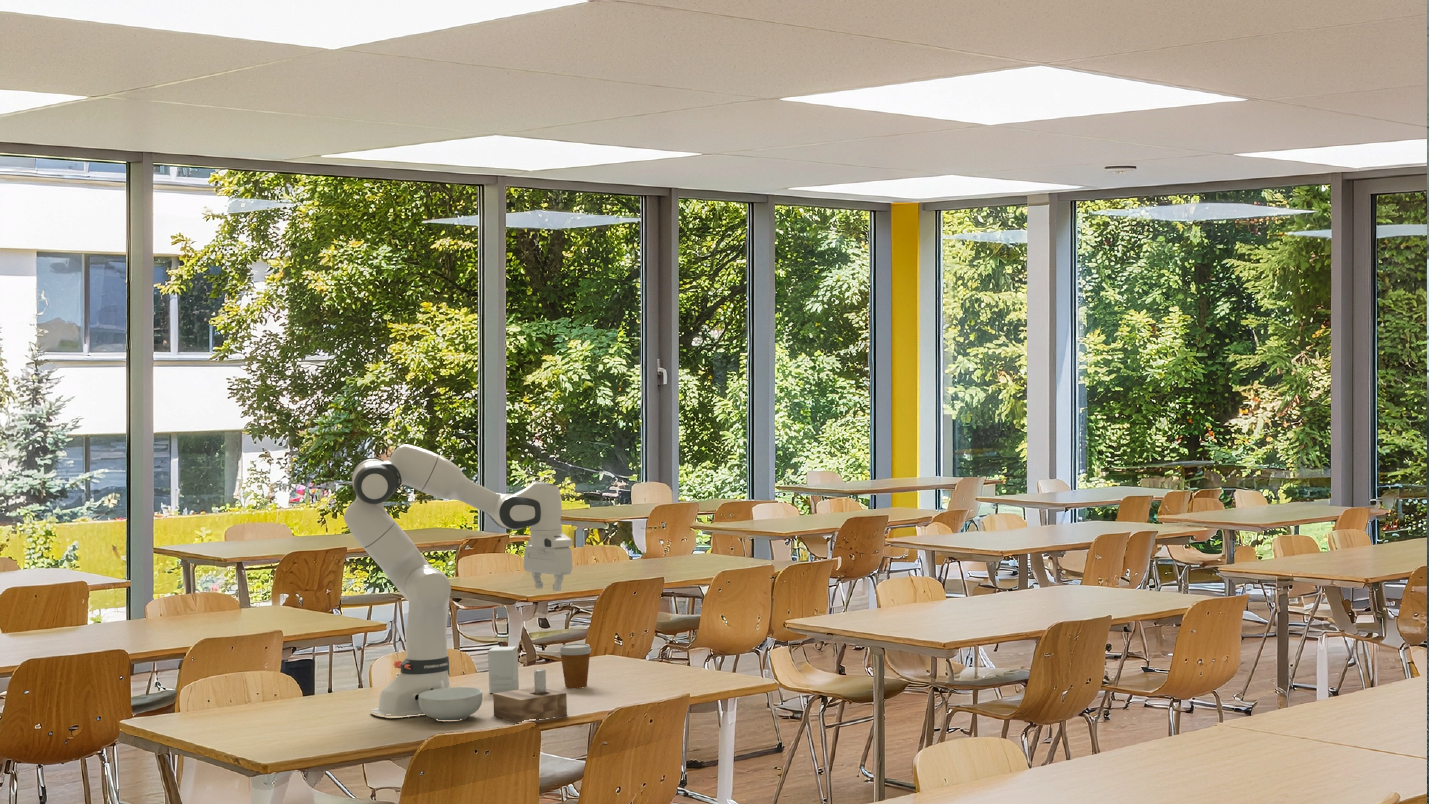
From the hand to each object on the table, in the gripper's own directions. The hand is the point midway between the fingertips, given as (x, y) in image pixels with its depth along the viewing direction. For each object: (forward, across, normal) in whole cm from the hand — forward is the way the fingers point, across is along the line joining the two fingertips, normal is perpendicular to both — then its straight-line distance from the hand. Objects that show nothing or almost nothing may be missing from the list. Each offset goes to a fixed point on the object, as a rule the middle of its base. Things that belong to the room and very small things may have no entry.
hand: (547, 589), depth 413 cm
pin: (+29, +16, -13) cm, 36 cm away
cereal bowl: (+31, +2, -32) cm, 45 cm away
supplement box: (+31, -24, -1) cm, 40 cm away
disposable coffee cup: (+31, -15, +18) cm, 39 cm away
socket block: (+31, +14, -15) cm, 37 cm away
